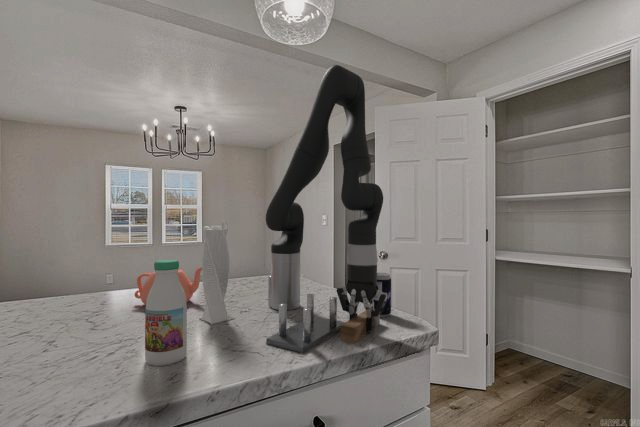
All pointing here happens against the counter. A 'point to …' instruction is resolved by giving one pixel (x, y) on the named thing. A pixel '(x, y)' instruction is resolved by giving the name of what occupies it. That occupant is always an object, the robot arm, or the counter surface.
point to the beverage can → (384, 286)
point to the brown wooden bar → (356, 327)
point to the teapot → (184, 281)
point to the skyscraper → (215, 274)
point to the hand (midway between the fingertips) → (361, 329)
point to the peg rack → (305, 328)
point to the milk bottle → (166, 316)
